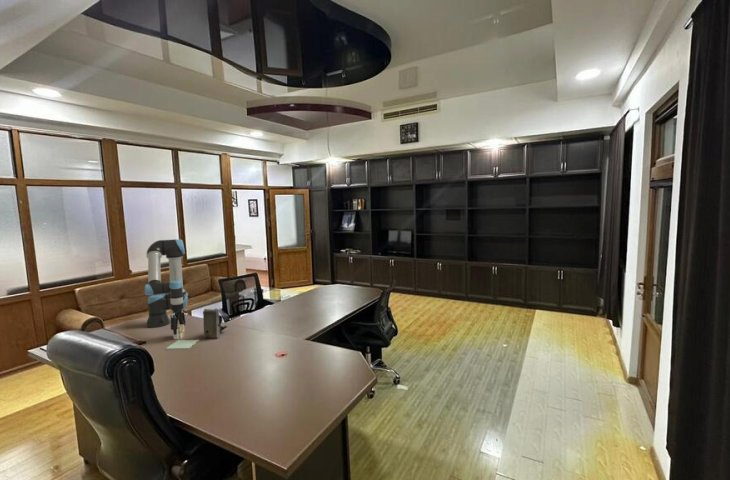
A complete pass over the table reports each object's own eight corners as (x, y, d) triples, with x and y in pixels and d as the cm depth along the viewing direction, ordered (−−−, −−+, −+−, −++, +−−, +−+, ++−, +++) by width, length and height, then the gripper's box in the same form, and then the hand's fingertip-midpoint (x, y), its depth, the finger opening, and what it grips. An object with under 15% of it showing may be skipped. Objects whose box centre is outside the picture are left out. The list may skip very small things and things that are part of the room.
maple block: (177, 336, 234) (176, 324, 234) (184, 336, 234) (184, 324, 234) (173, 338, 229) (172, 327, 229) (180, 338, 229) (180, 326, 229)
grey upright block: (229, 331, 242) (227, 304, 241) (217, 339, 226) (215, 309, 226) (216, 332, 243) (214, 304, 242) (203, 339, 227) (202, 309, 227)
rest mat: (177, 340, 225) (177, 340, 225) (199, 340, 225) (199, 339, 225) (165, 349, 211) (165, 348, 211) (188, 348, 211) (188, 347, 211)
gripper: (179, 300, 240) (181, 332, 241) (163, 307, 220) (165, 342, 222) (189, 299, 240) (191, 332, 241) (174, 307, 220) (176, 342, 222)
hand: (179, 336), depth 232 cm, fingers open, 6 cm apart
